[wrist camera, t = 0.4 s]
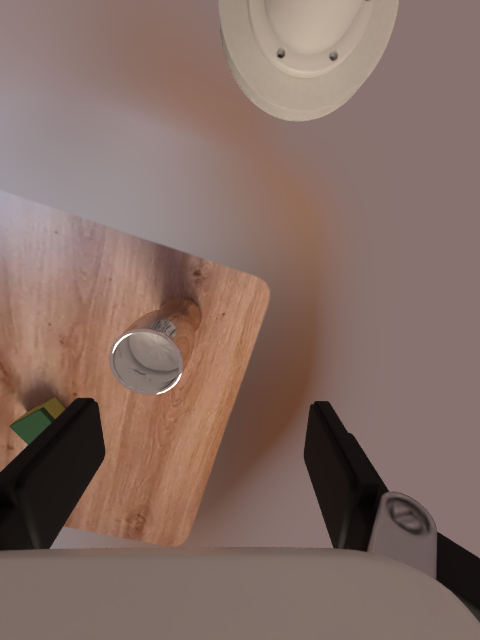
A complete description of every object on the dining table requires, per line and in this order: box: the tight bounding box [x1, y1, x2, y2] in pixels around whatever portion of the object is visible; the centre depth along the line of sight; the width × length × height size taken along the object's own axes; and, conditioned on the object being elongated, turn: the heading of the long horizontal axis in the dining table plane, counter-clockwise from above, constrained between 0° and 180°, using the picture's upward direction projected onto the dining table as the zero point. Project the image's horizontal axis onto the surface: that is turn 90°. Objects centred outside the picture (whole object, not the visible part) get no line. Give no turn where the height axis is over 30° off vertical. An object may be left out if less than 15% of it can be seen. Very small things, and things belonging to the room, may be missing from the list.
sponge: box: [10, 397, 65, 445], centre depth 39 cm, size 9×6×3 cm, turn 29°
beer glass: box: [109, 297, 201, 395], centre depth 29 cm, size 7×7×15 cm
